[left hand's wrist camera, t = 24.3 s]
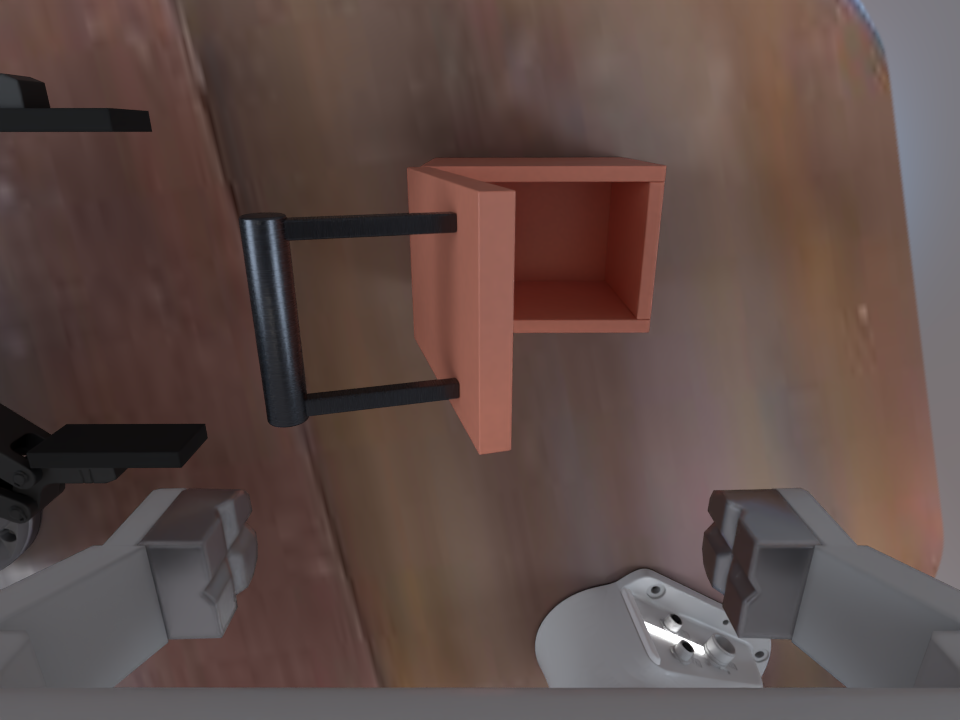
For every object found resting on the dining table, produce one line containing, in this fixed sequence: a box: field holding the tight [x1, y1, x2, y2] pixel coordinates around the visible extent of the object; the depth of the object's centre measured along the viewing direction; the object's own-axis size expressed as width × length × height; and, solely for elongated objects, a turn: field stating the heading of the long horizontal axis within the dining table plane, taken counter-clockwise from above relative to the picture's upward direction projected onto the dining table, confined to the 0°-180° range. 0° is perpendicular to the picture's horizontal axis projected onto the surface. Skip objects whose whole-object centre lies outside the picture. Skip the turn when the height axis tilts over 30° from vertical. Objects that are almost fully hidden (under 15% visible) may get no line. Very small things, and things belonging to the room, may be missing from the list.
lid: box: [239, 167, 516, 455], centre depth 26 cm, size 14×10×9 cm
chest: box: [420, 157, 666, 333], centre depth 39 cm, size 13×10×11 cm
